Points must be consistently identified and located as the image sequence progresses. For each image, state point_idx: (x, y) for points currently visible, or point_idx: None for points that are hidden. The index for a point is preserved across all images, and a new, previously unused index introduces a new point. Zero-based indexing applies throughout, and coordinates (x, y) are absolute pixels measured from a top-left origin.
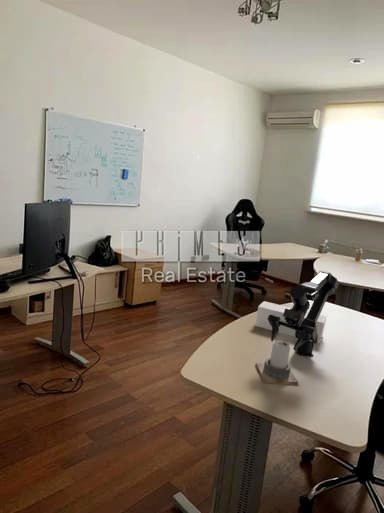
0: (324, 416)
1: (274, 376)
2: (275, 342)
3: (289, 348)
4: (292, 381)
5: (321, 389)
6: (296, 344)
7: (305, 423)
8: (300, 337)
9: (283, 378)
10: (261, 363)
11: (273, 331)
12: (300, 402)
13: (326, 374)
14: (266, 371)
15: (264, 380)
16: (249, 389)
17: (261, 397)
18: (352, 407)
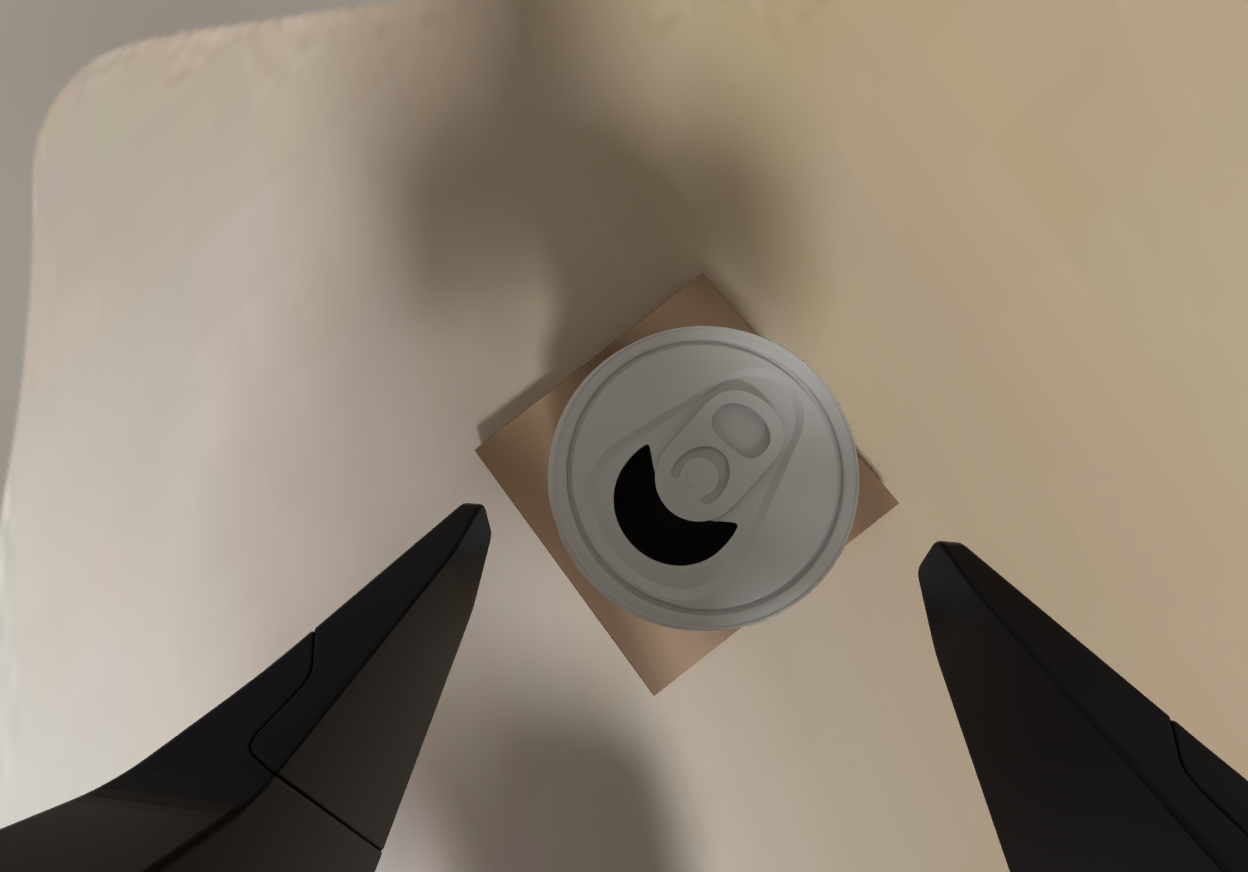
0: (242, 197)
1: None
2: (826, 433)
3: (551, 494)
4: (517, 424)
5: (319, 520)
6: (408, 564)
7: (322, 49)
8: (239, 754)
9: None
10: (853, 531)
11: (1145, 734)
12: (403, 233)
13: None
14: None
15: (701, 274)
16: (741, 121)
17: (632, 95)
18: (102, 436)
